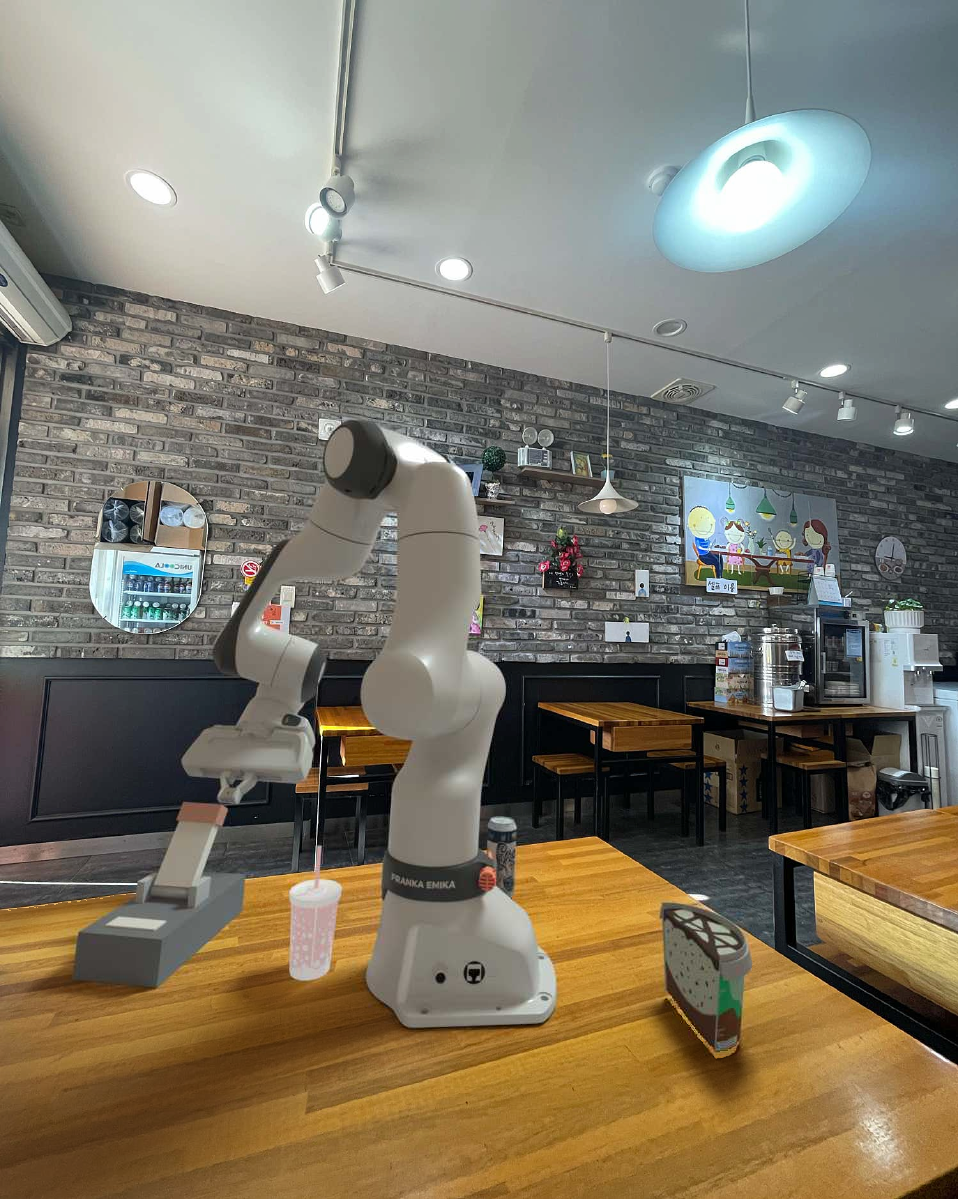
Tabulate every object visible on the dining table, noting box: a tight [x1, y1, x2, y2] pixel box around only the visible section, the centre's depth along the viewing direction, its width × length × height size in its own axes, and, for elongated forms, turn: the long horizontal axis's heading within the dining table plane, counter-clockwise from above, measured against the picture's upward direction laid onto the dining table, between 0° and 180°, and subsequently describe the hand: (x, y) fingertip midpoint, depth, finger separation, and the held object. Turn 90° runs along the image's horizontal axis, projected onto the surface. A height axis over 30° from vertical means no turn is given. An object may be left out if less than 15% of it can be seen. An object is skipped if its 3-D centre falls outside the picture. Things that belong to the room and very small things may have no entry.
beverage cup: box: [288, 845, 343, 981], centre depth 63 cm, size 6×6×14 cm
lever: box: [151, 801, 229, 899], centre depth 70 cm, size 6×2×12 cm
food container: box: [659, 901, 753, 1052], centre depth 56 cm, size 12×6×10 cm, turn 9°
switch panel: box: [71, 870, 246, 989], centre depth 67 cm, size 10×18×8 cm, turn 176°
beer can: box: [486, 816, 517, 898], centre depth 84 cm, size 5×5×12 cm
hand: (227, 801), depth 79 cm, fingers closed
